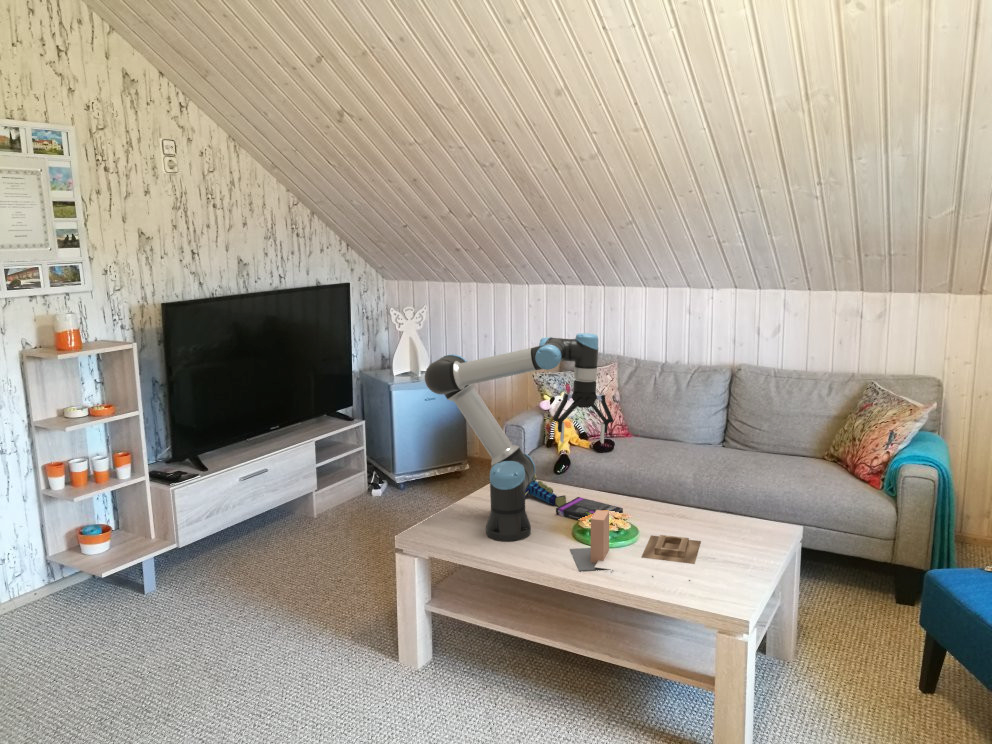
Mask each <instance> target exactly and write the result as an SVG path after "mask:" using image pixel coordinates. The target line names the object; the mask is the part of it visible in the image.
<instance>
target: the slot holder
mask: <svg viewBox="0 0 992 744" xmlns="http://www.w3.org/2000/svg"><path fill="white" fill-rule="evenodd" d="M701 543H702V540H697V539H695V540H693V539H689V537H682V536H673V535H666V534H665V535H664V534H660V535H650V536H649V539H648V542H647V543H646V545H645V548H644V550H643V553H642V555H641V558H642V559H651V560H658V561H659V560H660V561H666V562H667V561H668V562H673V563H674V562H675V563H683V564H691V565H696V560H697V557H698V554H699V551H700V550H699V549H700V548H701V547H700V546H701Z"/></svg>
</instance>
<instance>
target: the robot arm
mask: <svg viewBox="0 0 992 744" xmlns="http://www.w3.org/2000/svg"><path fill="white" fill-rule="evenodd" d="M598 358H599V336H598V335H597V334H594V333H590V332H589V333H587V332H585V333H584V332H583V333H581V332H580V333H576V336H575V338H560V337H551V336H550V337H542V338H541V339H540V340H539V343H538V346H534V347H530V348H525V349H520V350H516V351H511V352H506V353H502V354H497V355H492V356H488V357H484V358H479V359H475V360H470V361H468V360H466V359H465V358H464V357H462V356H461V355H458V354H448V355H447V354H446V355H444V356H442V357H440V358H439V359H437V360H435V361H433V362H432V363H430V364H429V365H428V367H427V368H426V370H425V373H424V383H425V385H426V387H427V388H428V390H430V391H431V392H432V393H434V394H436V395H444V396H445V398H446V399H447V401H451V402H454V404H455V405H456V406H457V408H458V410H459V411H460V412H461V414H462V415H463V416H464V417H463V418H464V419H465V420H466V421H467V423H468V425H469V426H470V427H471V429H472V430H473V432H474V433H475V435H476V437H477V438H478V439H479V441H480V442H481V444H482V445H483V448H485V450H486V452H487V453H488V454H489V456H490V458H491V463H490V465H491V468H490V471H489V475H488V476H489V490H490V491H489V492H490V495H489V497H490V513H489V516H488V519H487V523H486V527H485V532H486V533H485V534H486V535H488V536H489V538H490V539H493V540H495V541H500V542H502V541H503V542H515V541H519V540H524V539H526V538H528V537H530V535H531V533H532V525H531V523H530V519H529V517H528V514H527V511H526V497H525V491H526V489H527V488H528V486H529V485H530V484H531V483H532V481H533V479H534V476H535V475H536V471H537V470H536V464H535V462H534V460H533V459H532V457H531V456H530V455H529V454H527V453H525V452H523V451H522V449H521V447H519V445H516V444H512V442H511V441H510V439H509V437H508V436H507V434H506V433H505V432H504V430H503V429H502V427H501V426H500V424H499V423H498V421H497V419H496V418H495V416H494V415H493V414H492V412H491V411H490V408H488V406H487V405H486V403H485V402H484V400H483V398H482V396H481V395H480V394H479V393H478V391H477V389H476V387H475V385H476V384H479V383H483V382H489V381H494V380H496V379H497V380H498V379H502V378H507V377H511V376H516V375H520V374H521V375H522V374H525V373H530V372H531V373H532V372H534V371H541V370H545V371H546V370H547V371H549V370H552V369H555V368H557V367H558V366H559V364H560V363H561V362H574V370H573V373H574V374H573V378H574V380H573V389H572V391H573V392H572V393H571V394H569V393H566V392H565V393H563V396H562V401H561V402H560V404H559V406H558V408H557V409H556V411H555V413H554V415H553V416H552V420H553V421H554V422H556V423H557V432H558V433H560V439H559V441H560V443H561V444H562V443H564V442H565V441H564V440H565V422H564V421H565V420H566V419H567V418H568V416H569V415H571V413H572V412H574V410H575V409H577V408H579V409H583V408H584V409H585V408H586V409H589V408H592V409H593V410H594V412H595V413H596V414H597V416H598V417H599V418H600V419H601V420H602V422H600V434H599V435H600V436H599V437H600V439H599V442H600V443H601V444H604V442H605V434H607V433H608V429H609V427H608V426H609V424H610V423H614V418H613V416H612V413H611V411H610V409H609V407H608V405H607V402H606V395H605V394H603V393H601V394H597V381H596V380H597V379H598V378H597V376H598V374H597V373H598ZM571 399H572V401H573V402H572V403H571V404H570V406H569V407H568V408H567V409H566V410H565V411H564V409H565V407H566V405H567V404H568V402H569V401H570V400H571ZM597 400H598V401H599V402H600V404H601V405H602V408H603V410H604V412H605V414H606V417H607V418H606V417H605V415H604V414H603V413H602V412H601V411H600V410H599V408H598V407H597V406H596V404H595V402H596V401H597ZM563 411H564V412H563ZM562 412H563V413H562ZM488 536H487V537H488Z"/></svg>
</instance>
